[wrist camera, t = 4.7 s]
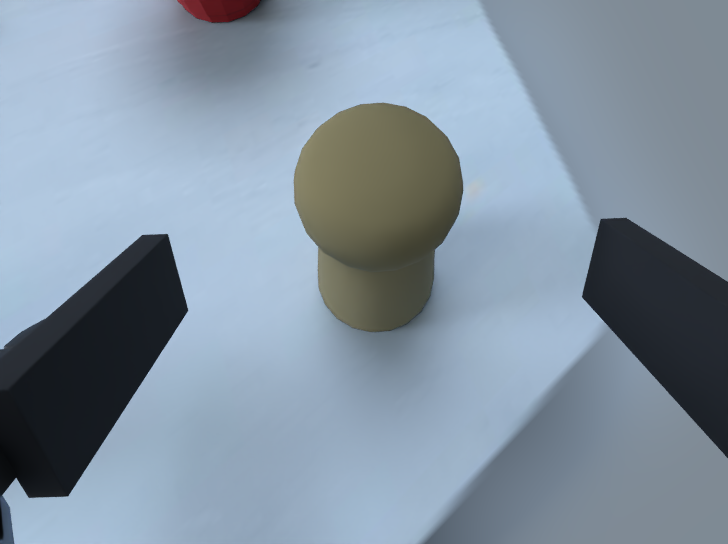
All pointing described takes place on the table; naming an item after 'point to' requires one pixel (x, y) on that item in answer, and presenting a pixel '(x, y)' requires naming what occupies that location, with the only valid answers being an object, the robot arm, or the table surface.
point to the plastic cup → (219, 9)
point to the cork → (377, 210)
